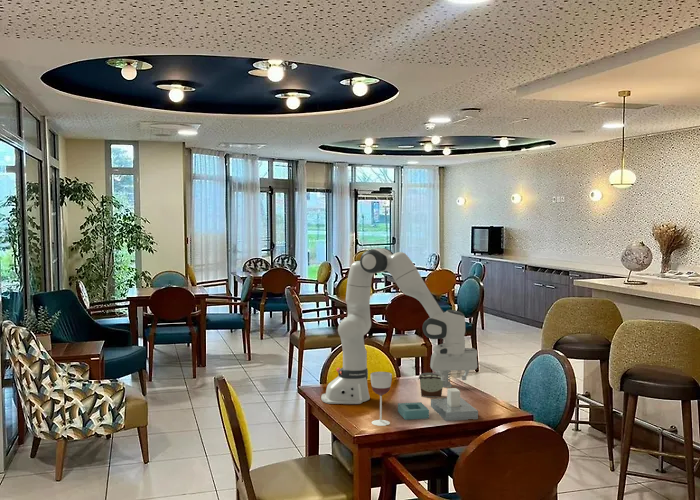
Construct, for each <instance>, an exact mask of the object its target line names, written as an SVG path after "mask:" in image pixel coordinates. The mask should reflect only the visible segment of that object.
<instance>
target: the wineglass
mask: <svg viewBox="0 0 700 500" xmlns="http://www.w3.org/2000/svg"><path fill="white" fill-rule="evenodd" d="M392 377H393V373H391V372H387V371H375V372H371V373H370V383H371V388H372V391H373V392H374V393H375V394H377V395H379V419H375V420H372V421H371V424H372V425H374V426H378V427H381V426H383V427H385V426H388V425H390V424H391V422H390V421H389V420H385V419H383V415H382V414H383V405H382V404H383V396H384V395H386V394H388V393H389V391H390V389H391V387H392V386H391V385H392V379H393V378H392Z"/></svg>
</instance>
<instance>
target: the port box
mask: <svg viewBox="0 0 700 500" xmlns="http://www.w3.org/2000/svg"><path fill="white" fill-rule="evenodd" d="M430 407H431V409H432V410H433V411H435V413H437V414H438V415H439V416H440V417H441V418H442V419H443V420H444V421H446V422H451V421H452V422H453V421H469V420H468V419H473V420H478V419H479V411H478V409H476V408H475V407H474V406H472V405H471V404H470V403H468V402H467V401H466V400H465V399H464V398H462V397H460V407H449V406H448V405H447V397H446V398H442V397H440V398H430Z"/></svg>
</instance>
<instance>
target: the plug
mask: <svg viewBox="0 0 700 500" xmlns="http://www.w3.org/2000/svg"><path fill="white" fill-rule="evenodd" d="M446 392H447V394H446V395H447V396H446V398H447V405H448V406H449V407H460V398H461V391H460V390H459V388H456V387H455V388H453V387H452V388H451V387H447V391H446Z"/></svg>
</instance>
